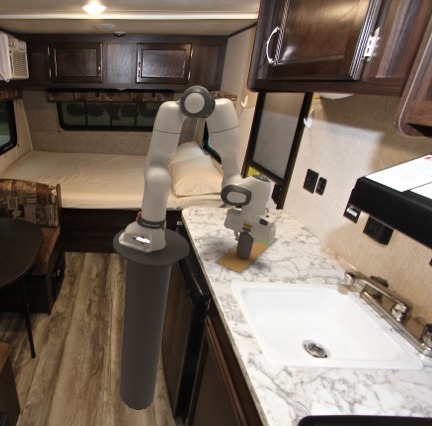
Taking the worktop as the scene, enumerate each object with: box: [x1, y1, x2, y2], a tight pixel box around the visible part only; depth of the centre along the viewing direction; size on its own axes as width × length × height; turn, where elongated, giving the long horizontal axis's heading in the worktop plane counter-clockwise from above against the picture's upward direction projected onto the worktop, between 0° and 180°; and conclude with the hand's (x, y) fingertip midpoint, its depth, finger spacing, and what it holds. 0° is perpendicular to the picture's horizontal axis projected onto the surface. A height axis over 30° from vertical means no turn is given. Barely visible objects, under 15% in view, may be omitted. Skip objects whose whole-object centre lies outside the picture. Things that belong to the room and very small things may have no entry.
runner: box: [216, 241, 269, 274], centre depth 130 cm, size 31×10×1 cm, turn 134°
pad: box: [254, 238, 277, 247], centre depth 143 cm, size 10×10×1 cm
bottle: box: [236, 223, 254, 258], centre depth 124 cm, size 6×6×15 cm
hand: (244, 243), depth 125 cm, fingers closed on bottle, 5 cm apart
